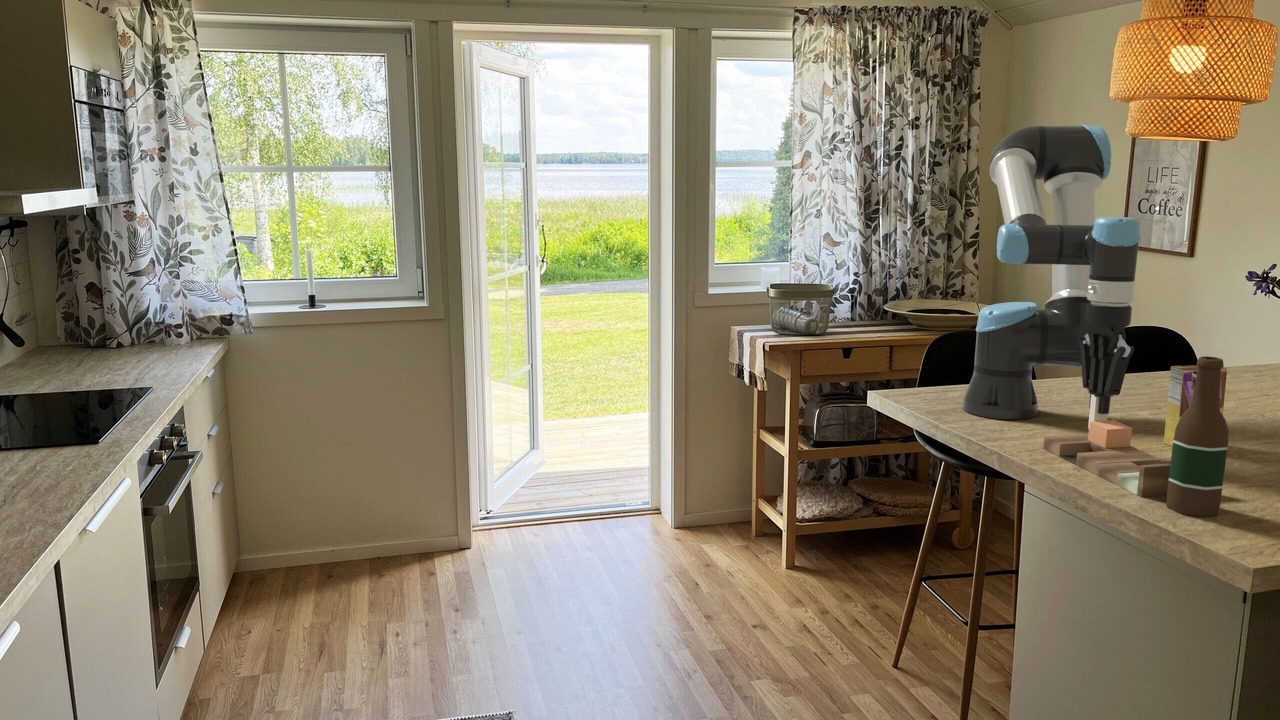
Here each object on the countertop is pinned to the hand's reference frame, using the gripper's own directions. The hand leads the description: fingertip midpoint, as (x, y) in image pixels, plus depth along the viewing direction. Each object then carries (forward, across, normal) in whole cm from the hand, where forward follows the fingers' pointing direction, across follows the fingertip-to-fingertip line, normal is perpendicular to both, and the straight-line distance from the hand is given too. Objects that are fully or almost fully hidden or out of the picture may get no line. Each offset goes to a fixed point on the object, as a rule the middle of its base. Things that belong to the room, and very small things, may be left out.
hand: (1097, 429), depth 181 cm
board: (+4, +10, -3) cm, 11 cm away
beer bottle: (+5, +30, -4) cm, 31 cm away
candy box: (+4, 0, +20) cm, 21 cm away
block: (+2, +3, 0) cm, 4 cm away
